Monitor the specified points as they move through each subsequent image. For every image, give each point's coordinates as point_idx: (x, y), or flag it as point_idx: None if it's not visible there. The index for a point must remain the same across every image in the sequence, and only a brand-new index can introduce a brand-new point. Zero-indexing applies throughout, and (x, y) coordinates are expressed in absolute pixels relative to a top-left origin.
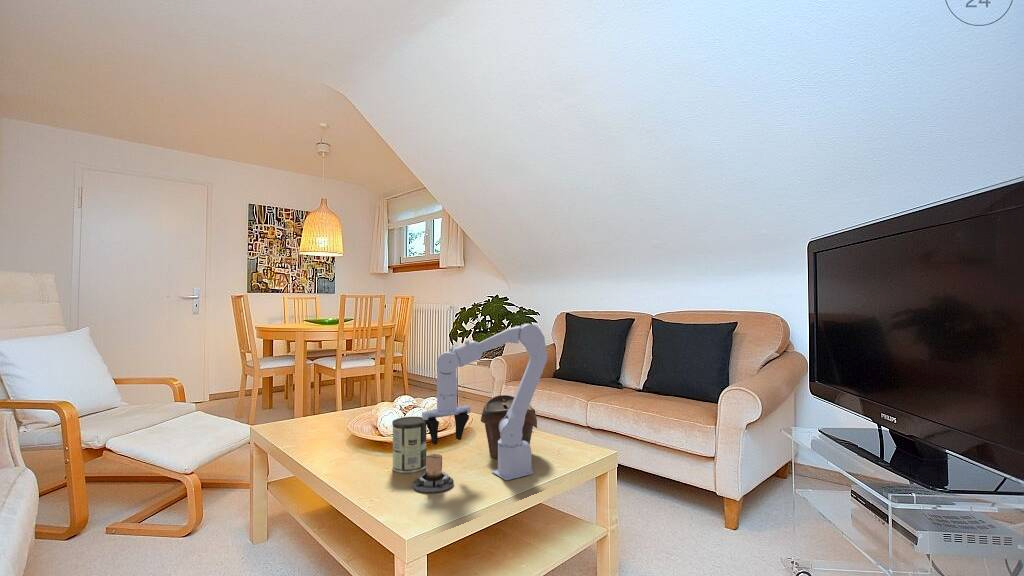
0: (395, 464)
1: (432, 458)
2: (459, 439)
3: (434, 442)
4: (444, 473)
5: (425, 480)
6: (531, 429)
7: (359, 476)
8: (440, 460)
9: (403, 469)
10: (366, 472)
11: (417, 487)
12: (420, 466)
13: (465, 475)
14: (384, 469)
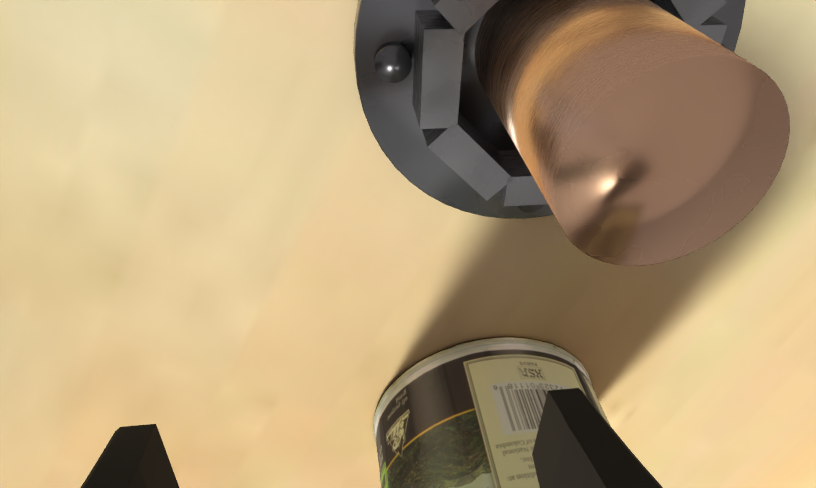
0: None
1: (741, 114)
2: (149, 432)
3: (596, 418)
4: (439, 89)
5: (701, 12)
6: None
7: (771, 400)
8: (630, 56)
9: (578, 372)
10: (708, 430)
11: (730, 19)
12: (467, 367)
13: (170, 105)
14: None
